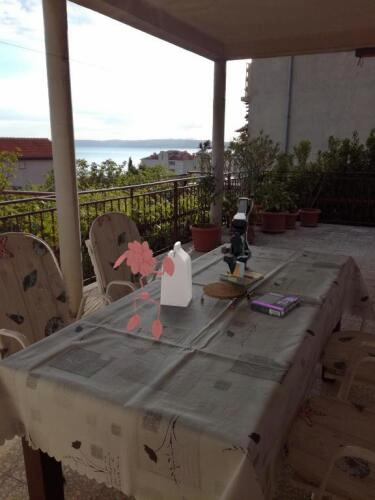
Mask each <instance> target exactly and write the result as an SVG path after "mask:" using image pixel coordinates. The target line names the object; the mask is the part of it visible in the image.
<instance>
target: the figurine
mask: <svg viewBox="0 0 375 500" xmlns="http://www.w3.org/2000/svg"><path fill="white" fill-rule="evenodd" d="M127 247H128V250H126V251H124V253H123V254H122V255H120V257H118V259H117V260H116V261H115V264H114V265H113V269H116V268H117V267H118V266H120V265H121V264H122V263H123V262H124V261H125V259H127V260H126V265H127V266H128V267H130V270H131V272H132V274H133V275H137V274H138V273H140V275H141V277H139V282H140V285H141V289H142V293H141V295H140V296H138V297H135V298H134V299H133V300H134V301H133V303H134V305H133V306H134V315H133V316H132V317H130V319H129V320H128V323H126V325H127V328H126V333H129V332H131V331H133V330H134V329H135V328H136V327H137V326H139V328H140V329H142V325H141V323H140V316H139V315H138V314H137V310H136V300H137V299H142V300H143V301H151V302H153V303H155V304H157V305H159V307H158V314H157V319H156V320H154V322H153V324H152V326H151V332H152V334H153V337H154V338H155V339H156V340H157V341H158V340H159V338H160V337H161V336H162V334H163V324H162V322H161V321H160V320H159V319H160V314H161V313H160V312H161V308H162V307H161V306H162V305H161V304H160V303H159V302H157V301H155V300H153V299H151V298H150V295H149V293H147V292H145V289H144V285H143V281H142V280H143V278H145V277H146V276H147V274H152V273H155V274H158V275H161V276H162V275H164V272H166V273H167V274H168V275H170V276H171V277H172V275H173V273H174V270H175V265H174V262H173V261H172V260H171V258H169V257H168V255H165V256H164V258H163V259H162V263H163V264H161V266H162V265H163V273H162V272H160V271H156V270H153V266H155V265H156V264H157V263H158V261H157V259H156V258H154V257H153V255H154V253H153V250H152V249H150V247H149V243H148V242H147V241H143V242H142V243H140V242H139V241H137V240H133V242H128V244H127ZM119 342H120V344H122V345H123V346H126V347H127V348H130V349H131V348H132V349H135V347H134V346H129V345H126V344H124V343H122V342H121V341H119ZM157 348H160V347H159V346H158V347H156V349H157ZM136 349H140V350H147V348H142V347H141V348H140V347H136ZM151 349H154V347H152V348H151V347H150V348H148V350H151Z"/></svg>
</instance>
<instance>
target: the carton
mask: <svg viewBox="0 0 375 500" xmlns="http://www.w3.org/2000/svg"><path fill="white" fill-rule="evenodd" d="M236 262H237V264H236V267H235V270H234V273H233V274H231V272H230V275H232V276H236V277H240V278H244V263H242V262H238V261H236Z"/></svg>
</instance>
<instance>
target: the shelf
mask: <svg viewBox="0 0 375 500" xmlns="http://www.w3.org/2000/svg"><path fill="white" fill-rule="evenodd" d="M263 276H265V275H264V274H262V273H257V272H254V271H249V270H246V269H245V270H244V278H240V277H236V276H232V275H230V269H229V270H228V269H227V270H226V273H222V272H220V273H219V279H220V280H223V281H226V282H227V281H228V282H230V283H231V282H232V283H235V284H239V285H242V286H248V285H250V284H252V282H253V283H254V281H255V282H256V280H257V281H259V280H261V279H263V278H264V277H263ZM262 277H263V278H262ZM260 278H261V279H260ZM258 279H259V280H258Z"/></svg>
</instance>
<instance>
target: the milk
mask: <svg viewBox="0 0 375 500" xmlns="http://www.w3.org/2000/svg"><path fill="white" fill-rule="evenodd" d="M181 244H182V243H181V241H177V242H175V244H174V245H173V250H172V249H171V250H170V251H169V252H168V253H166V254H167V255H166V256H167V257H169V258H171V260H172V261H173V262H174V265H175V270H174V273H173V275H172V277H171V276H170V275H168V274H167V273H166V272H164V275H162V274H161V279H160V280H161V281H160V283H161V285H160V286H161V287H160V301H159V302H160V303H159V304H160V305H161V306H174V307H183V308H184V307H185V308H186V307H188V305H189V304H190V302H191V300H192V299H193V285H192V283H193V282H192V280H193V279H192V258H191V256H190V254H188V253H187V251H185V250H184V249H183V248H182V246H181ZM162 264H163V262H162ZM162 264H161V273H163V265H162Z"/></svg>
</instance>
